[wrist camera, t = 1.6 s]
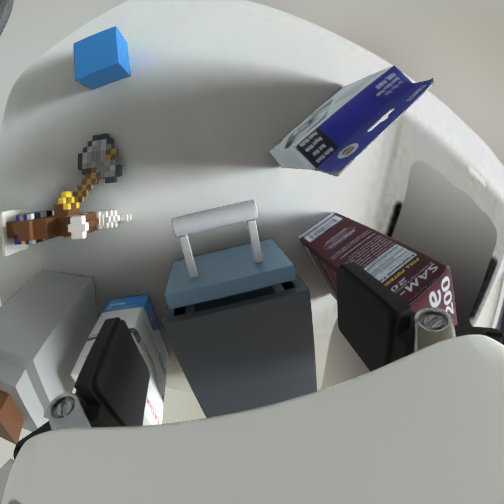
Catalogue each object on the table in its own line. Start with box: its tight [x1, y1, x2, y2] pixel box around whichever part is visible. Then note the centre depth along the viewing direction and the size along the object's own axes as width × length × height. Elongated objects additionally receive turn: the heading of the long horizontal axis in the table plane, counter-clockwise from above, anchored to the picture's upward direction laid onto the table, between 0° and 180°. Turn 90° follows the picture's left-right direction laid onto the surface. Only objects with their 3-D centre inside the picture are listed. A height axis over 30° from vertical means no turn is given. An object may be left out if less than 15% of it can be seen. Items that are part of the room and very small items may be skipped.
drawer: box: [164, 200, 296, 314], centre depth 23 cm, size 16×9×7 cm, turn 11°
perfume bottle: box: [0, 270, 98, 444], centre depth 17 cm, size 7×7×18 cm
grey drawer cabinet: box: [163, 272, 317, 418], centre depth 25 cm, size 13×11×9 cm
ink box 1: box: [71, 294, 169, 426], centre depth 22 cm, size 8×5×12 cm, turn 7°
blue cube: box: [74, 26, 131, 90], centre depth 17 cm, size 4×4×4 cm
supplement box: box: [298, 212, 457, 325], centre depth 21 cm, size 9×5×16 cm, turn 33°
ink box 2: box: [270, 66, 435, 176], centre depth 18 cm, size 12×2×12 cm, turn 133°
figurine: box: [0, 134, 131, 256], centre depth 19 cm, size 8×10×12 cm
